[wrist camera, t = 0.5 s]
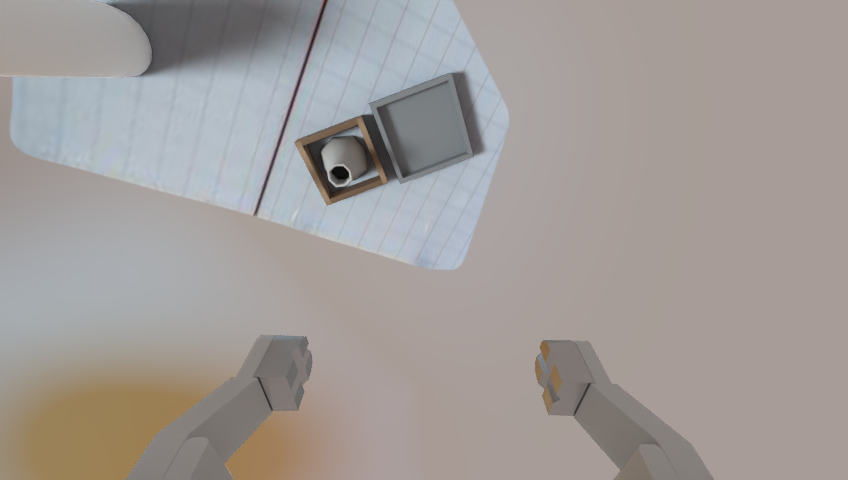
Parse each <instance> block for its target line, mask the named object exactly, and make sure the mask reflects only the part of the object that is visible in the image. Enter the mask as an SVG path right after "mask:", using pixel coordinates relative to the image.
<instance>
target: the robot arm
mask: <svg viewBox="0 0 848 480" xmlns="http://www.w3.org/2000/svg"><path fill="white" fill-rule="evenodd" d="M307 346H308V340H307V337H304V336H281V335H261V336H260V337H259V338H257V340H256V342H255V343H254V345H253V347H252V349H251V351H250V353H249V354H248V356H247V358H246V360H245V362H244V364H243V365H242V367H241V369H240V371H239V373H238V375H237V376H236V377H232V378H230V379H229V380H227V381H226V382H225V383H223V384H222V385H221V386H219V387H218V388H217V389H215V390H214V391H213V392H211V393H210V394H209V395H207V396H206V397H205V398H203V399H202V400H201V401H200V402H198V403H197V404H196V405H194V406H193V407H192V408H190V409H189V410H188V411H186V412H185V413H184V414H182V415H181V416H180V417H178V418H177V419H176V420H174V421H173V422H172V423H170V424H169V425H168V426H166V427H165V428H164V429H162V430H161V431H160V432H159V433H157V434H156V435H155V436H154V438H153V439H152V441H151V442H150V444H149V445H148V447H147V448H146V450H145V451H144V453H143V454H142V456H141V457H140V459H139V460H138V462H137V463H136V465H135V466H134V468H133V469H132V471H131V472H130V474H129V475H128V477H127V478H126V480H234V478H233V475H232V474H231V472H230V471H229V469H228V468H227V467H226V465H225V463H226V461H227V460H228V459H229V458H230V457H231V456H232V455H233V454H234V453H235V452H236V451H237V449H239V448H240V447H241V445H242V444H243V443H244V442H245V441H246V440H247V439H248V438H249V437H250V436H251V435H252V434H253V432H254V431H255V430H256V429H257V428H258V427H259V426H260V425H261V424H262V423H263V422H264V421H265V420H266V419H267V417H268V416H269V415H270V414H271V413H272V411H298V409H299V406H300V403H301V400H302V397H303V394H304V389H303V384H304V383H305V382H306V381H307V380H308V379H309V376H310V373H311V368H312V355H311V352H310V351H309V350H308V349H307ZM540 349H541V353H540V354H539V355H538V356H537V358H536V361H535V372H536V377H537V380H538V383H539V384H540V385H541V386H542V387H543V388H544V389H545V390H544V392H543V395H542V396H543V399H544V402H545V406H546V409H547V412H548V414H549V415H564V416H565V415H566V416H574V418H575V419H576V420H577V421H578V422H579V424H580V425H581V426H582V427H583V428H584V429H585V431H586V432H587V433H588V434H589V435H590V436H591V437H592V438H593V440H594V441H595V442H596V443H597V444H598V445H599V446H600V448H601V449H602V450H603V451H604V452H605V453H606V454H607V455H608V457H609V458H610V459H611V460H612V461H613V462H614V463H615V465H616V466H617V467H618V468H619V469H620V472H619V473H618V474H617V476H616V477H615V478H614V480H714V479H713V477H712V476H711V474H710V473H709V471H708V469H707V468H706V466H705V465H704V463H703V461H702V460H701V458H700V457H699V456H698V454H697V452H696V450H695V449H694V447H693V446H692V444H691V443H689V442H688V441H687V440H686V439H684V438H683V437H682V436H681V435H680V434H678V433H677V432H676V431H675V430H673V429H672V428H671V427H670V426H668V425H667V424H666V423H665V422H663V421H662V420H661V419H659V418H658V417H657V416H656V415H654V414H653V413H652V412H651V411H650V410H648V409H647V408H646V407H645V406H643V405H642V404H641V403H640V402H638V401H637V400H636V399H635V398H633V397H632V396H631V395H629V394H628V393H627V392H626V391H625V390H623V389H622V388H621V387H620V386H618V385H617V384H612V383H611V381H610V379H609V377H608V376H607V373H606V372H605V370H604V368H603V366H602V364H601V362H600V360H599V358H598V357H597V355H596V353H595V351H594V349H593V347H592V345H591V344H590V343H589V342H588V341H571V340H543V341H542V342H541V345H540Z"/></svg>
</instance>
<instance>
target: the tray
mask: <svg viewBox="0 0 848 480" xmlns="http://www.w3.org/2000/svg"><path fill="white" fill-rule="evenodd" d="M369 104H370V107H371V110H372V112H373V115H374V117H375V120H376V122H377V125H378V128H379V130H380V133H381V135H382V138H383V141H384V143H385V146H386V148H387V151H388V154H389V156H390V159H391V161H392V164H393V166H394V169H395V172H396V174H397V177H398V179H399V182H400V184H402V183H405V182H407V181H410V180H413V179H415V178H418V177H420V176H423V175H426V174H428V173H431V172H434V171H436V170H439V169H442V168H444V167H447V166H450V165H452V164H455V163H457V162H460V161H463V160H465V159H468V158H471V157H473V152H472V149H471V145H470V141H469V137H468V133H467V129H466V126H465V122H464V118H463V114H462V110H461V107H460V103H459V99H458V95H457V91H456V87H455V84H454V80H453V76H452V73H448V74H445V75H442V76H440V77H437V78H435V79H432V80H429V81H427V82H424V83H421V84H419V85H416V86H414V87H411V88H408V89H406V90H403V91H401V92H398V93H395V94H393V95H390V96H387V97H385V98H382V99H380V100H377V101H374V102H372V103H369Z"/></svg>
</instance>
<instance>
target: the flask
mask: <svg viewBox="0 0 848 480" xmlns="http://www.w3.org/2000/svg"><path fill="white" fill-rule="evenodd" d="M320 153H321V158H322V163H323V168H324V170H325V171H326V172H327V174H328V179H329V181H330V182H331V183H332V184H333V185H334V186H335V187H344V186H347V185H348V184H349V183H350V182H351V181H352V180H356V179H357V178H358V177H359V176H360V175H361V174H362V173H363V172H364V171H366V170H367V169H368V164H367V157H366V150H365V149H364V148H363V147H362V146H361V145H360V144H359V142H358V141H357V140H356V139H355V138H354V137H353V136H344V137H333V138H332V139H331V140H330V141H329V142H328V143H327V144H326V145H325V146H324V147H323V148H322V149H321V150H320Z"/></svg>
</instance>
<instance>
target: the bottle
mask: <svg viewBox="0 0 848 480" xmlns="http://www.w3.org/2000/svg"><path fill="white" fill-rule="evenodd" d="M151 60H152V48H151V45H150V42H149V39H148V36H147V35H146V33H145V32H144V30H143V29H142V27H141V26H140V24H138V23H137V22H136V21H135V20H134V19H133V18H132V17H131V16H130V15H129V14H127V13H125V12H123V11H121V10H119V9H117V8H115V7H112V6H110V5H108V4H105V3H102V2H97V1H92V0H0V76H1V77H2V76H3V77H5V76H6V77H7V76H8V77H109V78H125V77H127V78H128V77H134V76H139V75H140V74H142V73H143V72H145V71H146V70H147V69H148V67H149V65H150V63H151Z"/></svg>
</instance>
